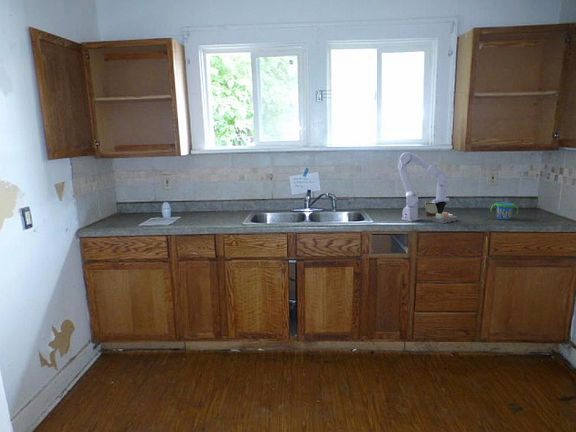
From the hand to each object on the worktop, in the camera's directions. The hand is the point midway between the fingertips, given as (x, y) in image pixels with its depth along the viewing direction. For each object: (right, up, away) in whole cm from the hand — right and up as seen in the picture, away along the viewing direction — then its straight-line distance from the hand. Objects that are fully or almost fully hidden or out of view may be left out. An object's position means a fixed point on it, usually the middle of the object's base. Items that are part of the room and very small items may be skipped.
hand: (440, 213), depth 244 cm
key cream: (+8, -4, +6) cm, 11 cm away
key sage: (0, -3, +1) cm, 3 cm away
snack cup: (+44, -4, +6) cm, 44 cm away
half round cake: (+2, -2, +20) cm, 20 cm away
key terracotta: (+4, -3, +3) cm, 6 cm away
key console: (+4, -5, +3) cm, 7 cm away
